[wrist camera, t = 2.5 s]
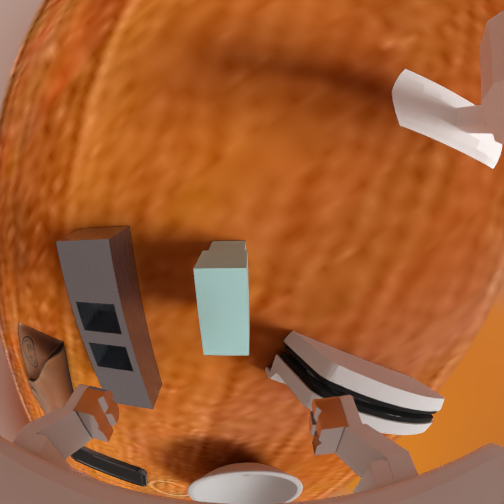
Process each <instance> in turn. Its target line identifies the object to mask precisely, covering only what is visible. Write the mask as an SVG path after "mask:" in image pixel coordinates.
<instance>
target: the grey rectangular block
mask: <svg viewBox="0 0 504 504" xmlns="http://www.w3.org/2000/svg"><path fill="white" fill-rule="evenodd" d="M56 245H57V250H58V255H59V260H60V264H61V269H62V273H63V277H64V281H65V285H66V289H67V292H68V296H69V299H70V303H71V306H72V310H73V313H74V316H75V319H76V322H77V325H78V328H79V331H80V334H81V337H82V340H83V343H84V345H85V348H86V351H87V353H88V356H89V358H90V361H91V363H92V366H93V368H94V371H95V373H96V375H97V378H98V380H99V382H100V385H101V387H102V389H105V390H109V391H111V392H112V394H113V399H112V400H113V401H114V402H115V403H118V404H124V405H130V406H136V407H142V408H149V409H153V408H154V405H155V402H156V399H157V397H158V394H159V391H160V388H161V385H162V382H161V378H160V375H159V371H158V368H157V364H156V360H155V357H154V353H153V349H152V345H151V341H150V337H149V332H148V328H147V324H146V319H145V315H144V310H143V305H142V300H141V295H140V290H139V285H138V279H137V273H136V267H135V261H134V254H133V248H132V240H131V233H130V226H114V227H97V228H82V229H79V230H77V231H75V232H73V233H71V234H69V235H67V236H65V237H63V238H61V239H59V240H58V241H56Z"/></svg>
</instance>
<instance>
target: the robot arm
mask: <svg viewBox="0 0 504 504" xmlns="http://www.w3.org/2000/svg"><path fill="white" fill-rule="evenodd" d="M112 399H113V394H112V392H111V391H109V390H105V389H100V388H96V387H92V386H87V385H83V384H80V385H78V386H77V387H76V389H75V390H74V392H73V393H72V395H71V397H70V398H69V400H68V401H67V403H66V404H65V406H64V407H60V408H58V409H56V410H54V411H52V412H50V413H48V414H46V415H44V416H42V417H40V418H38V419H36V420H34V421H32V422H30V423H28V424H26V425H24V427H23V428H22V430H21V431H20V433H19V434H18V436H17V437H16V439H15V440H14V442H13V443H12V442H10V441H8V440H6V439H5V438H3V437H2V436H0V504H226V503H210V502H199V501H190V500H183V499H176V498H169V497H163V496H158V495H153V494H148V493H143V492H139V491H134V490H130V489H126V488H122V487H119V486H115V485H112V484H108V483H105V482H102V481H98V480H95V479H92V478H89V477H87V476H84V475H81V474H78V473H76V472H73V471H72V467H71V466H70V464H69V463H68V462H67V461H66V460H65V459H67V458H68V457H69V456H71V455H72V454H73V453H75V452H76V451H77V450H78V449H80V448H81V447H82V446H84V445H85V444H86V443H88V442H89V441H90V440H91V439H92V438H95V439H99V440H103V441H107V442H109V440H110V437H111V435H112V433H113V428H112V426H113V425H115V424H117V421H118V419H119V408H118V405H117V404H116V403H115V402H114V401H113V400H112ZM311 406H312V412H310V417H309V426H310V433H311V435H313V441H312V444H313V450H314V455H322V454H331V453H336V455H337V456H338V457H339V458H340V459H342V460H343V461H344V462H345V463H346V464H347V465H348V466H349V467H350V468H351V469H352V470H353V471H354V472H355V473H356V474H357V475H358V476H360V477H361V478H362V479H361V480H360V482H359V483H358V485H357V486H356V488H355V489H354V491H353V492H354V493H353V494H349V495H343V496H338V497H332V498H326V499H319V500H311V501H302V502H291V503H275V504H504V447H502V446H500V445H496V444H493V443H490V444H487V445H484V446H482V447H480V448H479V449H477V450H475V451H473V452H471V453H469V454H467V455H465V456H463V457H461V458H459V459H456V460H454V461H452V462H450V463H447V464H445V465H443V466H440V467H438V468H436V469H433V470H431V471H428V472H425V473H423V474H420V475H418V473H417V471H416V468H415V466H414V464H413V461H412V459H411V456H410V454H409V452H408V451H407V450H405V449H404V448H402V447H401V446H399V445H398V444H396V443H394V442H393V441H391V440H390V439H388V438H387V437H385V436H384V435H382V434H381V433H379V432H378V431H376V430H375V429H373V428H372V427H370V426H369V425H367V424H362V421H361V418H360V415H359V413H358V410H357V407H356V405H355V402H354V399H353V397H352V396H351V395H345V396H338V397H329V398H320V399H313V401H312V405H311Z"/></svg>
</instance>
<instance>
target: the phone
mask: <svg viewBox="0 0 504 504" xmlns="http://www.w3.org/2000/svg"><path fill="white" fill-rule="evenodd" d="M71 457H72V458H73V459H74V460H76V461H78V462H80V463H82V464H84V465H86V466H89V467H91V468H93V469H96V470H98V471H100V472H103V473H105V474H108V475H111V476H113V477H116V478H119V479H121V480H124V481H127V482H130V483H133V484H136V485H140V486H144V487H145V486H146V485H147V472H146V471H145V470H144V469H142V468H140V467H136V466H133V465H130V464H127V463H124V462H122V461H119V460H116V459H113V458H111V457H108V456H106V455H103V454H101V453H98V452H96V451H93V450H91V449H89V448H86V447H84V446H82V447H81V448H80V449H78V450H77V451H76V452H75V453H73V454H72V455H71Z"/></svg>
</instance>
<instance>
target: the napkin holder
mask: <svg viewBox="0 0 504 504" xmlns="http://www.w3.org/2000/svg"><path fill="white" fill-rule="evenodd" d="M284 342H285V343H286V346H285V348H286V349H287V350H288V351H289V352H290V353H291V354H292V355H293V356H294V357H293V356H291V355H288V354H285V353H283V352H282V354H281V356H280V355H277V354H276V356H275V359H274V362H273V365H272V368H270V367H266V369H265V372H266V374H267V376H268V378H270V379H272V380H275V381H278V382H281V383H284V384H286V385H287V386H288V387H289V388H290V390H291V391H292V392H293V393H294V394H295V396H296V397H297V398H298V399H299V401H300V402H301V403H302V404H303V405H304V406H306V407H307V408H309V409H310V410H312V406H311V405H312V401H313V399H320V398H329V397H338V396H345V395H351V396H352V397H353V399H354V402H355V405H356V407H357V410H358V413H359V415H360V418H361V421H362V424H367V425H369V426H370V427H372V428H373V429H375V430H376V431H378V432H380V433H387V434H397V435H411V434H419V433H422V432H424V431H425V430H426V429H427V428H428V427H429V426H430V425H431V424H432V422H433V421H432V418H433V416H432V415H431V414H434V413H436V412H437V411H439V410H441V407H442V404H443V401H444V397H443V396H441V395H440V394H438V393H436V392H435V391H433V390H432V389H430V388H428V387H427V386H425V385H424V384H422V383H421V382H419V381H418V380H416V379H414V378H413V377H411V376H408V375H405V374H402V373H399V372H396V371H394V370H391V369H388V368H385V367H383V366H380V365H377V364H375V363H372V362H369V361H367V360H364V359H361V358H359V357H356V356H354V355H351V354H349V353H346V352H343V351H341V350H338V349H336V348H333V347H331V346H329V345H326V344H324V343H321V342H319V341H316V340H314V339H312V338H309V337H307V336H304V335H302V334H300V333H297V332H295V331H292V332H291V333H289V334H288V336H287V337H286V338H285V339H284Z"/></svg>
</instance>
